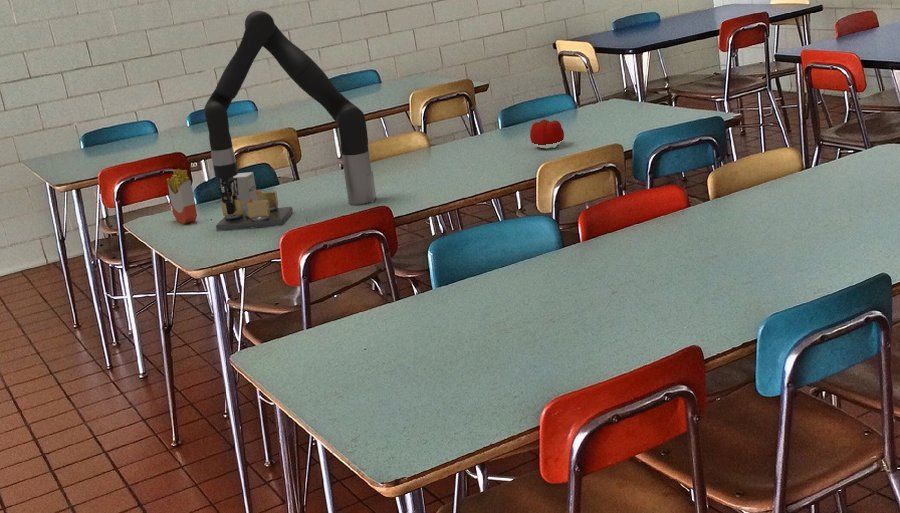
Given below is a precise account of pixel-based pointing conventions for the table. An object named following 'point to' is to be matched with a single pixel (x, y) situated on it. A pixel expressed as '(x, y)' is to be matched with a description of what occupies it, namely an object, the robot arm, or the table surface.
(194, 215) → the french fries container
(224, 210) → the knob
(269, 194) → the knob
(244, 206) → the supplement box
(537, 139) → the tomato
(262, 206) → the knob
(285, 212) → the base plate
